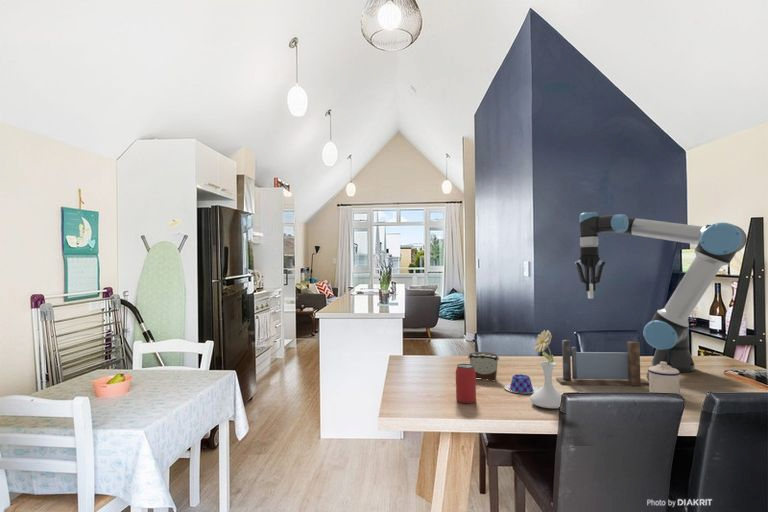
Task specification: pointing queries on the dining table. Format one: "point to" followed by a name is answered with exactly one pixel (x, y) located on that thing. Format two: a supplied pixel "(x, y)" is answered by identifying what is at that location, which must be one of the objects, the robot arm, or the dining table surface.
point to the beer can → (465, 383)
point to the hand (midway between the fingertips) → (590, 298)
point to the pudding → (521, 384)
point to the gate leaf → (599, 365)
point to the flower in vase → (546, 376)
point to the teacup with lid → (663, 378)
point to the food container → (484, 364)
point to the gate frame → (633, 379)
